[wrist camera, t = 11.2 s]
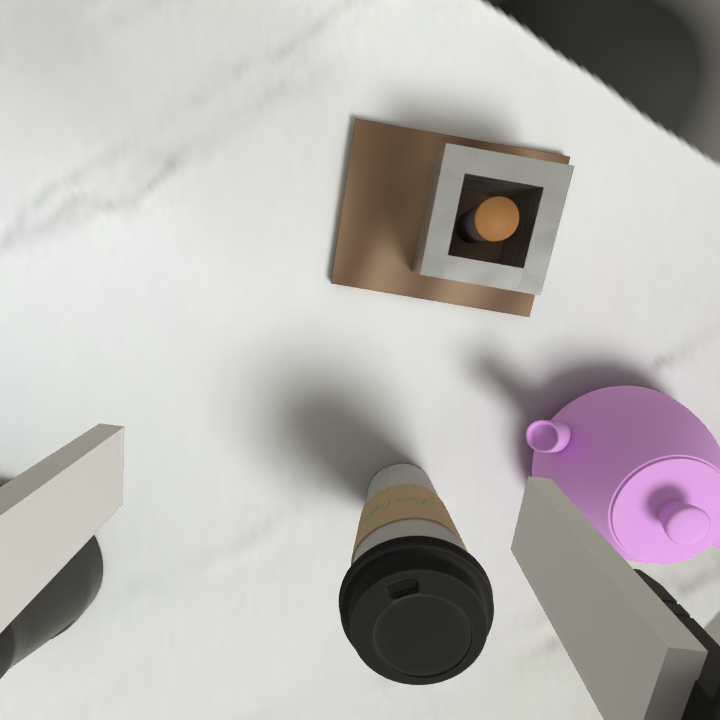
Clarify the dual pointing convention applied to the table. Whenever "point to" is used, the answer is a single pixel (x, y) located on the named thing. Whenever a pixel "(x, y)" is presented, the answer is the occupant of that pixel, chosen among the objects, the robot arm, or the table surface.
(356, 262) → the keeper
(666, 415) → the teapot
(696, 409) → the table surface
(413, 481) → the coffee cup
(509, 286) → the hollow square block
